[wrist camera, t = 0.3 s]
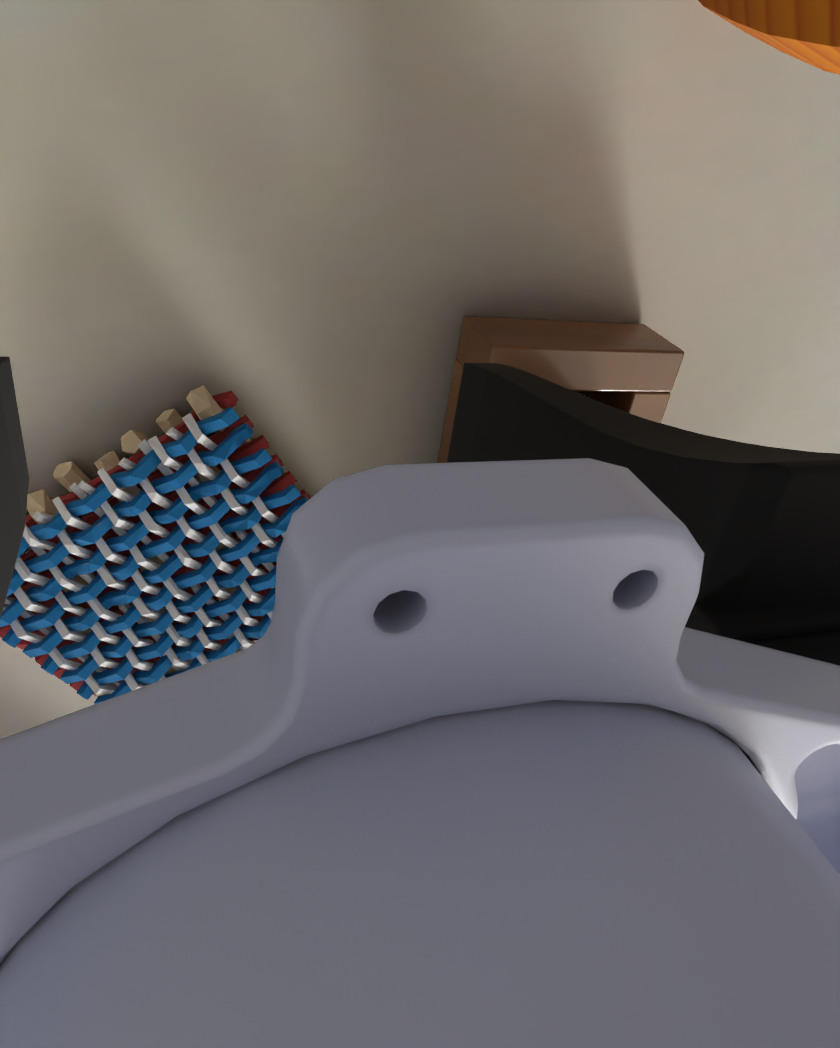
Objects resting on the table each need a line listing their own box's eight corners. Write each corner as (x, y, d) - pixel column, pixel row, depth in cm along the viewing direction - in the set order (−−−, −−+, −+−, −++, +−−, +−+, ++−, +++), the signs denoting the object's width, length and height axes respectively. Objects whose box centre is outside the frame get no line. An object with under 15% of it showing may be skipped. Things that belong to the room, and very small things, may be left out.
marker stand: (532, 685, 35) (556, 726, 33) (394, 702, 33) (411, 748, 31) (644, 323, 26) (686, 351, 24) (462, 315, 24) (492, 345, 22)
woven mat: (-84, 551, 23) (-100, 594, 21) (215, 361, 22) (221, 391, 21) (147, 722, 29) (148, 764, 28) (383, 578, 29) (397, 613, 27)
